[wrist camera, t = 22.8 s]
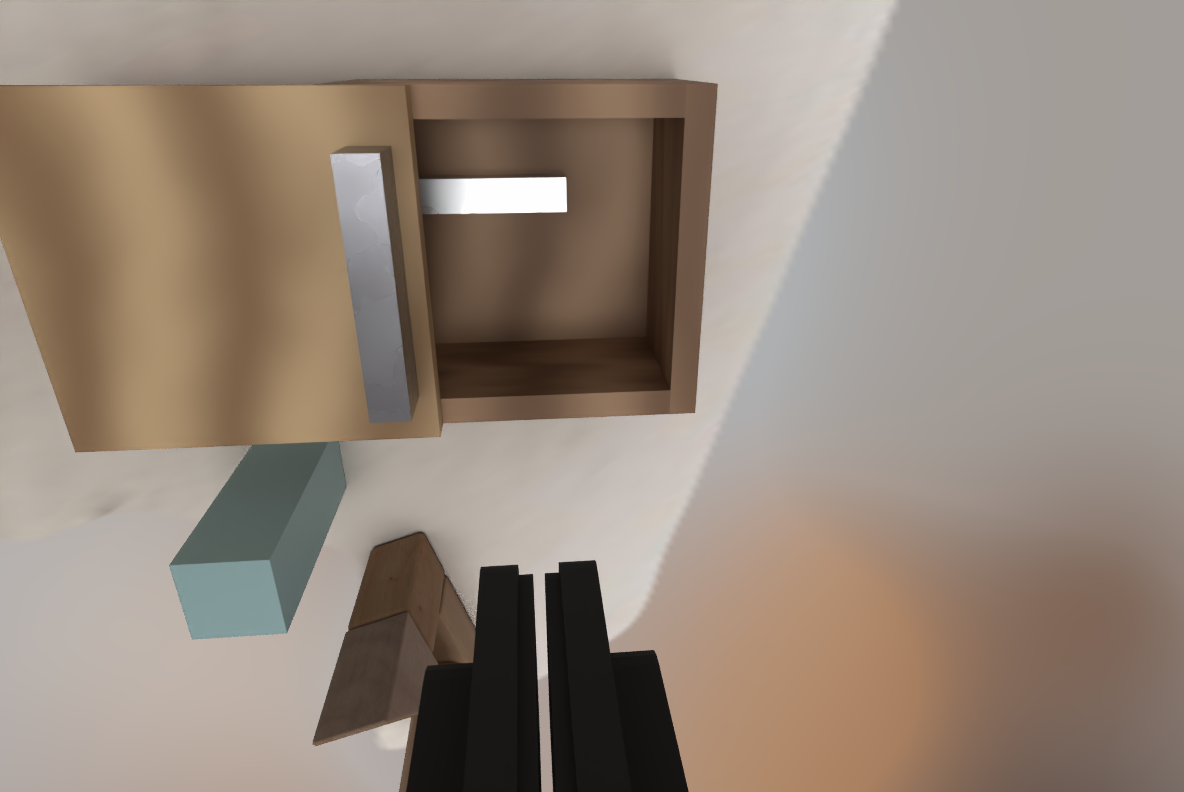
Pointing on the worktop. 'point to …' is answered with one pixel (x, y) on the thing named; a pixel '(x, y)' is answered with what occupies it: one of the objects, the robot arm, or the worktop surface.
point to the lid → (222, 261)
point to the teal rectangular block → (259, 541)
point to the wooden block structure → (394, 643)
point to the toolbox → (564, 242)
